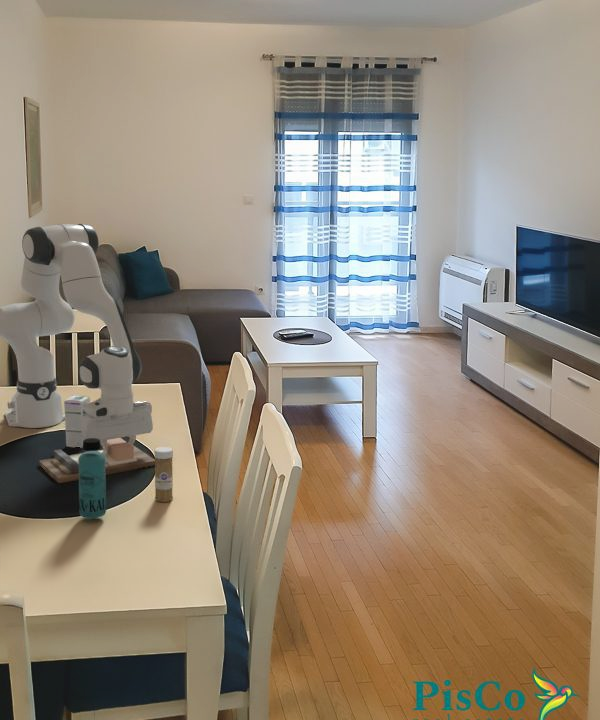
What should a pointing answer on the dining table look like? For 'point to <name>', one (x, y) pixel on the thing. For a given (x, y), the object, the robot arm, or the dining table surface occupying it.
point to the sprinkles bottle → (163, 474)
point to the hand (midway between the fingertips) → (118, 452)
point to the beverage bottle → (92, 480)
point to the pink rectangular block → (119, 452)
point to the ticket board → (108, 470)
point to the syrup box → (74, 419)
